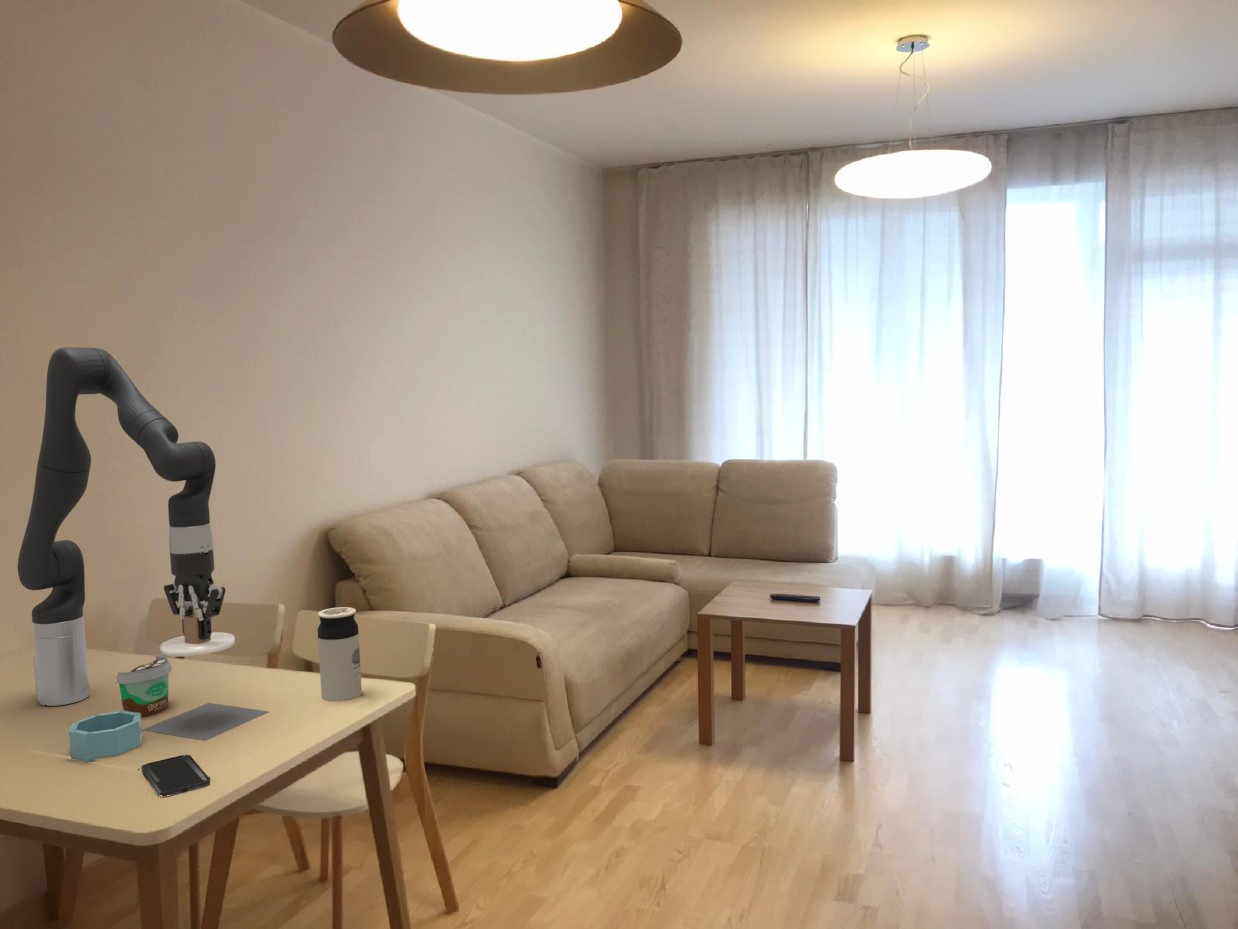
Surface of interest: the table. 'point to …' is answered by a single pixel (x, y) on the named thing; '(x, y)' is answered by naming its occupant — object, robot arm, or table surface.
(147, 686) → the food container
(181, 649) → the lid
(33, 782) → the table surface
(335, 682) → the travel mug
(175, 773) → the phone
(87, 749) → the bowl
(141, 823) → the table surface
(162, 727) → the mat
